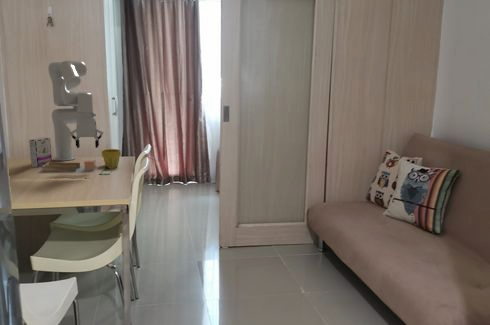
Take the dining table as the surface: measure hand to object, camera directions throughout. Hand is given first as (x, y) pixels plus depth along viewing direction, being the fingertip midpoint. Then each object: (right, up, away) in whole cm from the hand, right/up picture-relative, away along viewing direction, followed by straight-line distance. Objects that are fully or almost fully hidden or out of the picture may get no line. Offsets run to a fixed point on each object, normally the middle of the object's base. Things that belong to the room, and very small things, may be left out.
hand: (87, 147), depth 238 cm
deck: (-10, -13, +2) cm, 17 cm away
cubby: (-14, -12, +1) cm, 19 cm away
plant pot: (+8, -11, +16) cm, 21 cm away
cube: (+1, -12, +2) cm, 12 cm away
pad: (+9, -14, -1) cm, 17 cm away
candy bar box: (-30, -11, +13) cm, 35 cm away
